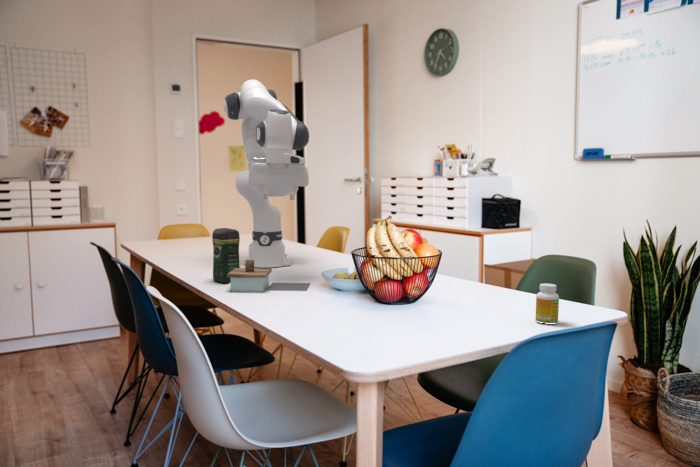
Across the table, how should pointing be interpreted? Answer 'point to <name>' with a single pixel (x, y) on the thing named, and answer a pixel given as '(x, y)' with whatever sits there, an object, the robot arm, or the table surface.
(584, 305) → the table surface
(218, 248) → the coffee jar
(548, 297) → the supplement bottle
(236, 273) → the lid
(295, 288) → the mat
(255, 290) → the mint green open box
